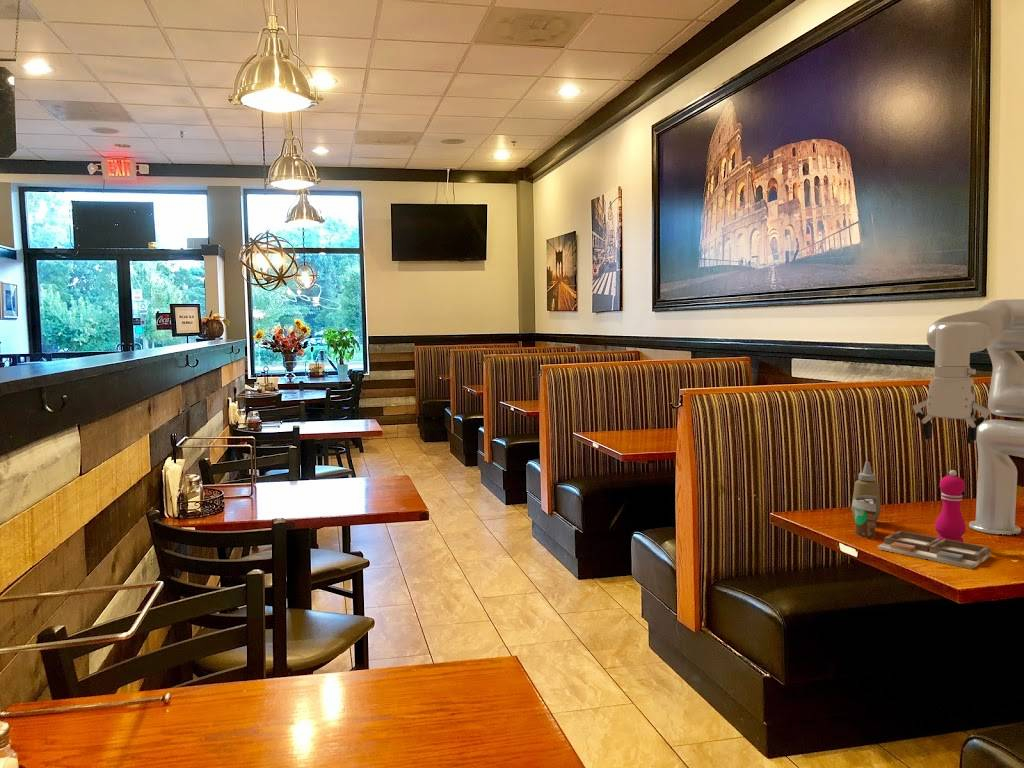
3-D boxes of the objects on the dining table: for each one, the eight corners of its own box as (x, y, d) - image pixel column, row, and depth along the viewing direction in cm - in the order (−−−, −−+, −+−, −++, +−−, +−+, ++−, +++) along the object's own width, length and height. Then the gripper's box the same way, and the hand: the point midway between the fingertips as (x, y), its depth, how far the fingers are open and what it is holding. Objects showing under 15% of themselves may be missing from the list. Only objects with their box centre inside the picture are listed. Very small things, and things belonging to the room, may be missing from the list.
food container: (852, 527, 223) (853, 493, 223) (875, 530, 221) (876, 495, 220) (850, 537, 212) (851, 502, 212) (874, 540, 210) (876, 504, 209)
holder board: (899, 538, 211) (899, 529, 211) (990, 556, 195) (991, 546, 195) (877, 549, 201) (877, 540, 201) (971, 569, 185) (972, 558, 185)
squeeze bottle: (886, 522, 229) (888, 462, 227) (870, 526, 224) (873, 465, 223) (860, 517, 235) (862, 458, 234) (845, 520, 231) (847, 461, 229)
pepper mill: (969, 548, 203) (973, 473, 201) (939, 546, 204) (942, 471, 203) (959, 540, 210) (962, 468, 208) (930, 539, 211) (933, 467, 210)
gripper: (995, 373, 189) (992, 442, 191) (919, 370, 201) (917, 435, 203) (986, 375, 184) (983, 446, 185) (909, 372, 196) (907, 439, 198)
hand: (949, 440), depth 194 cm, fingers open, 9 cm apart
